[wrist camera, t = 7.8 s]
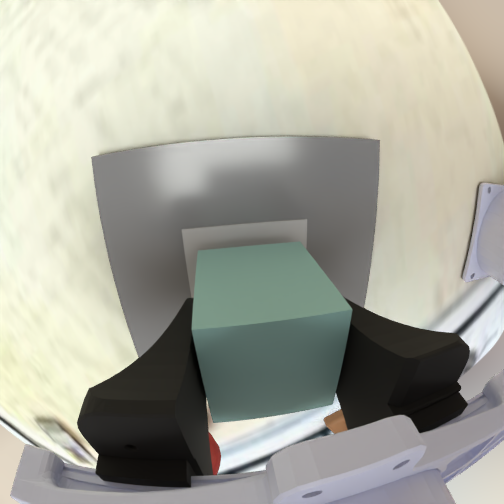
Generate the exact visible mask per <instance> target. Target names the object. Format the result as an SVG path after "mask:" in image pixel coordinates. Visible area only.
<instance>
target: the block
mask: <svg viewBox="0 0 504 504" xmlns="http://www.w3.org/2000/svg"><path fill="white" fill-rule="evenodd" d="M351 316H352V308H351V307H350V305H349V304H348V303H347V301H346V300H345V299H344V297H343V296H342V295H341V293H340V292H339V291H338V289H337V288H336V287H335V286H334V284H333V283H332V282H331V280H330V279H329V278H328V276H327V275H326V274H325V273H324V271H323V270H322V269H321V267H320V266H319V265H318V264H317V262H316V261H315V260H314V258H313V257H312V256H311V255H310V253H309V252H308V251H307V250H306V248H305V247H304V246H303V245H302V243H301V242H300V241H299V242H287V243H276V244H265V245H253V246H242V247H231V248H220V249H209V250H198V253H197V263H196V275H195V287H194V300H193V315H192V334H193V339H194V344H195V349H196V353H197V358H198V363H199V367H200V371H201V376H202V380H203V384H204V388H205V393H206V397H207V401H208V405H209V408H210V412H211V416H212V420H213V423H217V422H229V421H239V420H248V419H256V418H263V417H270V416H277V415H283V414H289V413H294V412H299V411H305V410H310V409H314V408H319V407H323V406H328V405H332V404H333V401H334V397H335V393H336V389H337V385H338V380H339V376H340V372H341V367H342V363H343V358H344V353H345V348H346V343H347V338H348V333H349V327H350V321H351Z"/></svg>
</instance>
